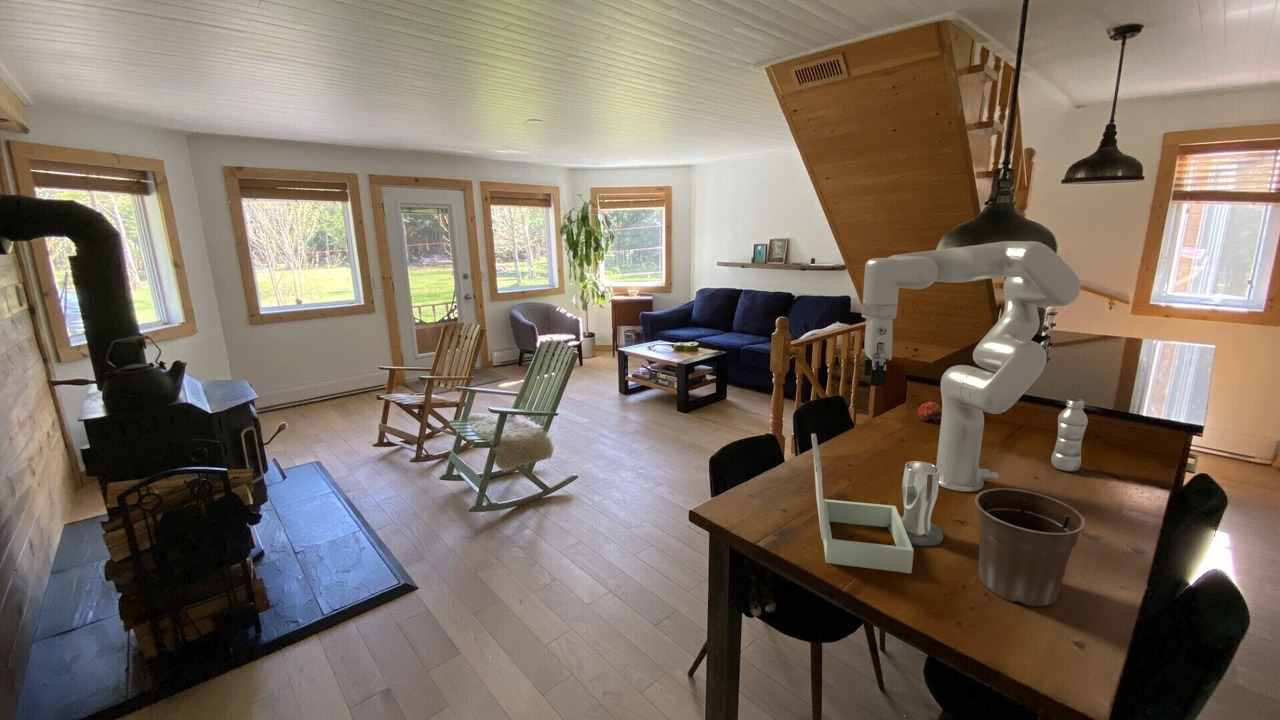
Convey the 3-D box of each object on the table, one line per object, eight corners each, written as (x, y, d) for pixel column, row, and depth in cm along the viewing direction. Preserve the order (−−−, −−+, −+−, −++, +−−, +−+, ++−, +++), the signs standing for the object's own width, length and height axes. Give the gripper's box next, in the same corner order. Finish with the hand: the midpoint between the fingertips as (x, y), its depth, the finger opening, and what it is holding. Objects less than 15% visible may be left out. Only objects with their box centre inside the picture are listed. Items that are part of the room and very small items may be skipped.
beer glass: (925, 521, 121) (931, 460, 118) (939, 538, 115) (946, 474, 111) (893, 520, 122) (899, 460, 119) (905, 537, 115) (911, 474, 112)
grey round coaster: (935, 522, 122) (935, 519, 122) (949, 549, 112) (949, 545, 112) (883, 517, 125) (884, 514, 125) (892, 543, 115) (893, 539, 115)
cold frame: (893, 525, 122) (895, 505, 120) (911, 573, 105) (913, 550, 103) (820, 518, 126) (821, 499, 124) (825, 562, 109) (827, 541, 108)
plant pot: (1034, 627, 90) (1048, 542, 86) (946, 574, 104) (955, 499, 100) (1091, 599, 96) (1106, 519, 92) (1000, 552, 110) (1011, 481, 107)
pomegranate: (944, 428, 185) (931, 404, 192) (951, 417, 180) (938, 393, 186) (922, 431, 186) (910, 407, 192) (929, 420, 180) (917, 396, 186)
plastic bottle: (1054, 472, 145) (1065, 402, 141) (1046, 462, 151) (1057, 395, 147) (1083, 475, 143) (1096, 405, 138) (1074, 465, 149) (1086, 397, 144)
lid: (815, 433, 121) (811, 433, 122) (821, 466, 104) (815, 466, 105) (820, 497, 124) (815, 497, 125) (825, 539, 108) (820, 539, 108)
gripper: (904, 316, 117) (897, 391, 121) (889, 306, 133) (884, 372, 137) (867, 316, 119) (862, 389, 123) (857, 306, 135) (853, 371, 139)
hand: (873, 380), depth 130 cm, fingers open, 9 cm apart
